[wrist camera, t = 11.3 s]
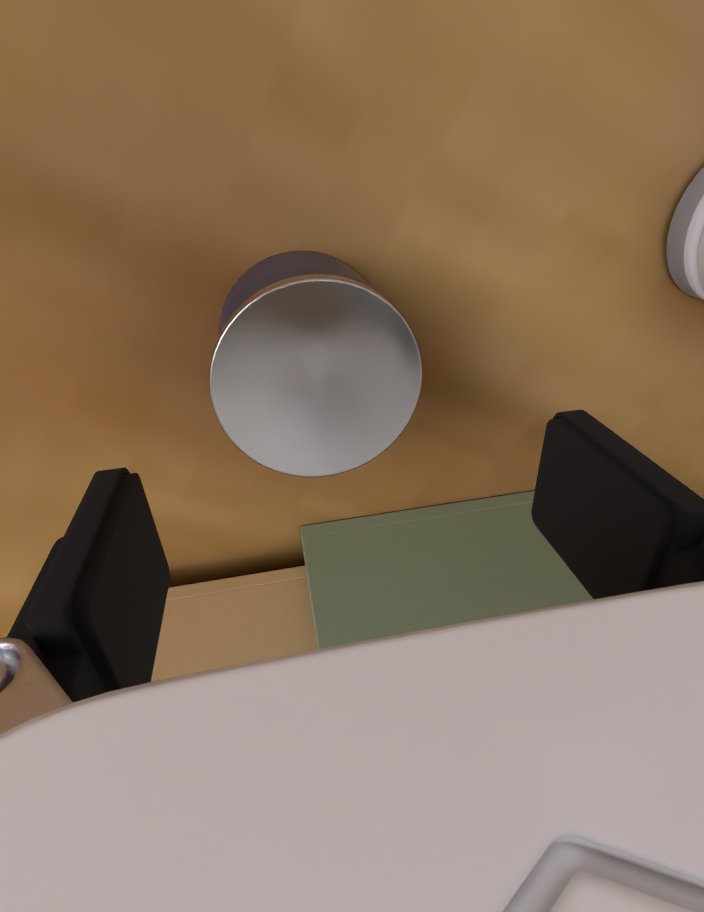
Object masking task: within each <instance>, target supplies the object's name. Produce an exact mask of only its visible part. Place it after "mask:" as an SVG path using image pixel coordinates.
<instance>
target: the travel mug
mask: <svg viewBox="0 0 704 912" xmlns="http://www.w3.org/2000/svg"><path fill="white" fill-rule="evenodd" d="M666 257H667V263H668V269H669V271H670V274H671V276H672V279H673V281H674V282H675V283H676V285H677V286H678V287H679V289H680V290H682V291H683V292H685V293H686V294H688V295H689V296H692V297H695V298H698V299H701V300H704V167H703V168H702V169H701V170H700V171H699V172H698V173H697V174H696V176H695V177H694V179H693V180H692V181H691V183H690V184H689V186H688V187H687V189H686V190H685V192H684V194H683V196H682V197H681V199H680V201H679V203H678V205H677V207H676V210H675V212H674V215H673V218H672V220H671V223H670V227H669V232H668V237H667V248H666Z"/></svg>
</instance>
